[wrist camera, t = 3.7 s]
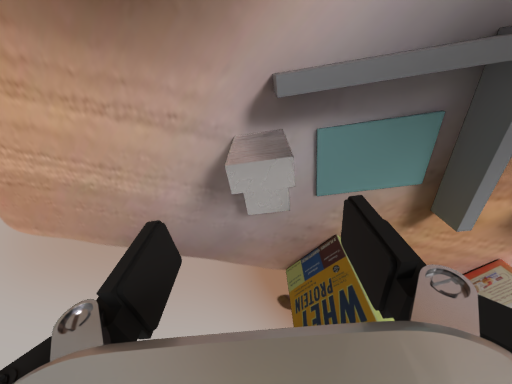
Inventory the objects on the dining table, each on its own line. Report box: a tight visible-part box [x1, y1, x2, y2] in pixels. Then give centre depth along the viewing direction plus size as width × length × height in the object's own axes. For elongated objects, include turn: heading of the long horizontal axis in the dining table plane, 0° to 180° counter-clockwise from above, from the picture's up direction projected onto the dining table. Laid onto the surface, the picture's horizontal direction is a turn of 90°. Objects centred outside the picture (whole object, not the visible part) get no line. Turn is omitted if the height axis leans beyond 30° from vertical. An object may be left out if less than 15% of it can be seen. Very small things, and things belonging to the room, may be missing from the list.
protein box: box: [286, 235, 395, 327], centre depth 26 cm, size 10×15×16 cm
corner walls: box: [272, 26, 512, 232], centre depth 20 cm, size 18×20×4 cm
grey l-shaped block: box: [225, 129, 295, 215], centre depth 20 cm, size 9×5×8 cm, turn 8°
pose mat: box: [316, 111, 445, 196], centre depth 22 cm, size 8×12×1 cm, turn 98°
